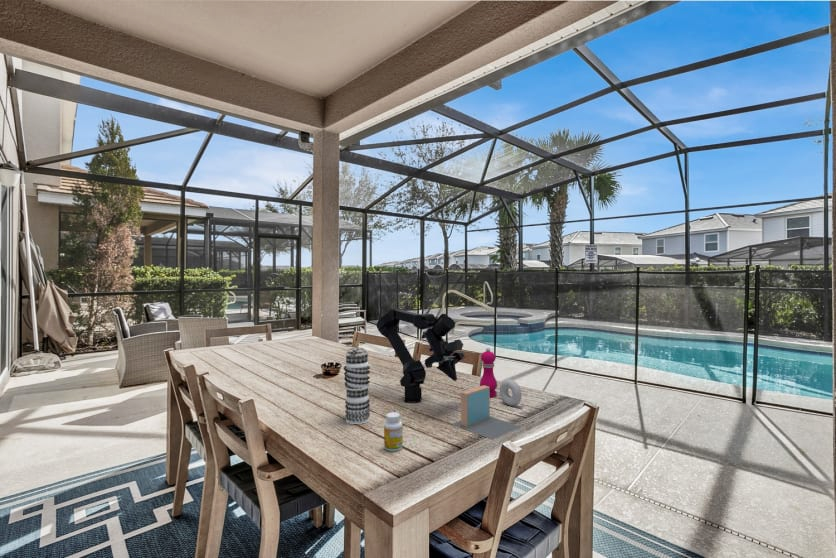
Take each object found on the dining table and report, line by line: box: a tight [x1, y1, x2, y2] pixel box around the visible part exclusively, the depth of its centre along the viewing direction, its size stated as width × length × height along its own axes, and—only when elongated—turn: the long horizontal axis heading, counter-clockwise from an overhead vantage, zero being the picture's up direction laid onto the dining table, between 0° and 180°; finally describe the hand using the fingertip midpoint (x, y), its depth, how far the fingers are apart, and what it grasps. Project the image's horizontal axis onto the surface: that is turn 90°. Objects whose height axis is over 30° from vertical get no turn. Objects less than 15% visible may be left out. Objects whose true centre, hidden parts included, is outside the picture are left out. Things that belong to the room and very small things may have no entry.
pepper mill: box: [479, 347, 498, 398], centre depth 159 cm, size 7×7×20 cm
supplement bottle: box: [383, 411, 404, 452], centre depth 111 cm, size 5×5×10 cm
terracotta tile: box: [460, 385, 491, 427], centre depth 129 cm, size 3×12×11 cm, turn 131°
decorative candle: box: [343, 347, 371, 425], centre depth 133 cm, size 9×9×25 cm
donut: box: [499, 378, 523, 407], centre depth 146 cm, size 10×4×10 cm, turn 34°
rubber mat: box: [452, 415, 521, 441], centre depth 126 cm, size 17×15×1 cm
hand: (455, 380), depth 137 cm, fingers closed
